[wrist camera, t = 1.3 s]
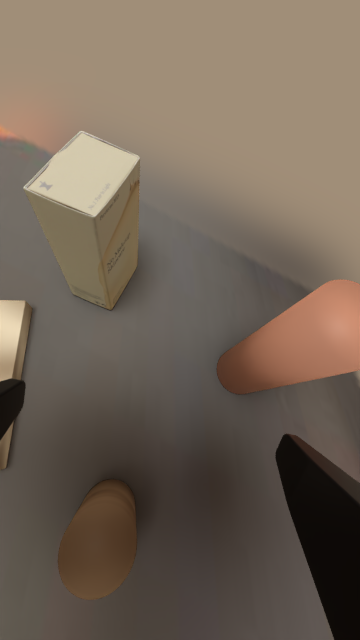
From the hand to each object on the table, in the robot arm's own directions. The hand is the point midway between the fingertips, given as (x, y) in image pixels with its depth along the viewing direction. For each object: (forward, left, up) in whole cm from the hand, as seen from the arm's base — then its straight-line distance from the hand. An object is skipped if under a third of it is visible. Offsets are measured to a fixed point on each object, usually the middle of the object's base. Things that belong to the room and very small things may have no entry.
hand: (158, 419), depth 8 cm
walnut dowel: (-6, +3, -14) cm, 16 cm away
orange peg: (+4, -9, -14) cm, 17 cm away
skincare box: (+14, +4, -14) cm, 20 cm away
